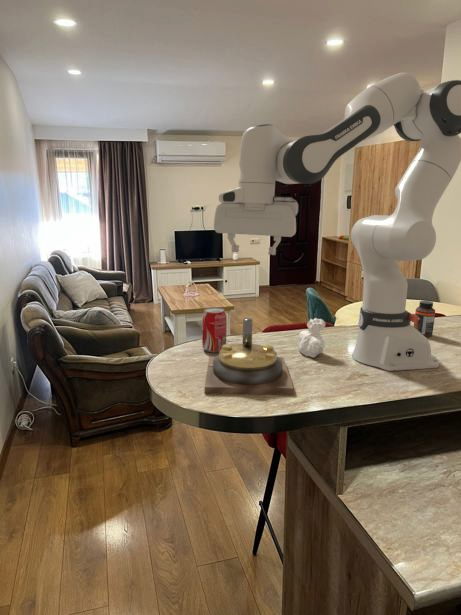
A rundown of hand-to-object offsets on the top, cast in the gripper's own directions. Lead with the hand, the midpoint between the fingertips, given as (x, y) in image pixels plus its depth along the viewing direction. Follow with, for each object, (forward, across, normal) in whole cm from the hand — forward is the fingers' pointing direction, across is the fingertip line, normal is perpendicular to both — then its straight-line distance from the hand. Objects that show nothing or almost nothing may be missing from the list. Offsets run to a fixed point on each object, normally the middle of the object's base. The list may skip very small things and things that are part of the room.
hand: (253, 253), depth 109 cm
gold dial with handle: (+25, -2, +8) cm, 27 cm away
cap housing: (+30, -2, +8) cm, 31 cm away
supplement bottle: (+28, -48, -44) cm, 71 cm away
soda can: (+30, +12, -9) cm, 34 cm away
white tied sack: (+29, -15, -15) cm, 36 cm away
